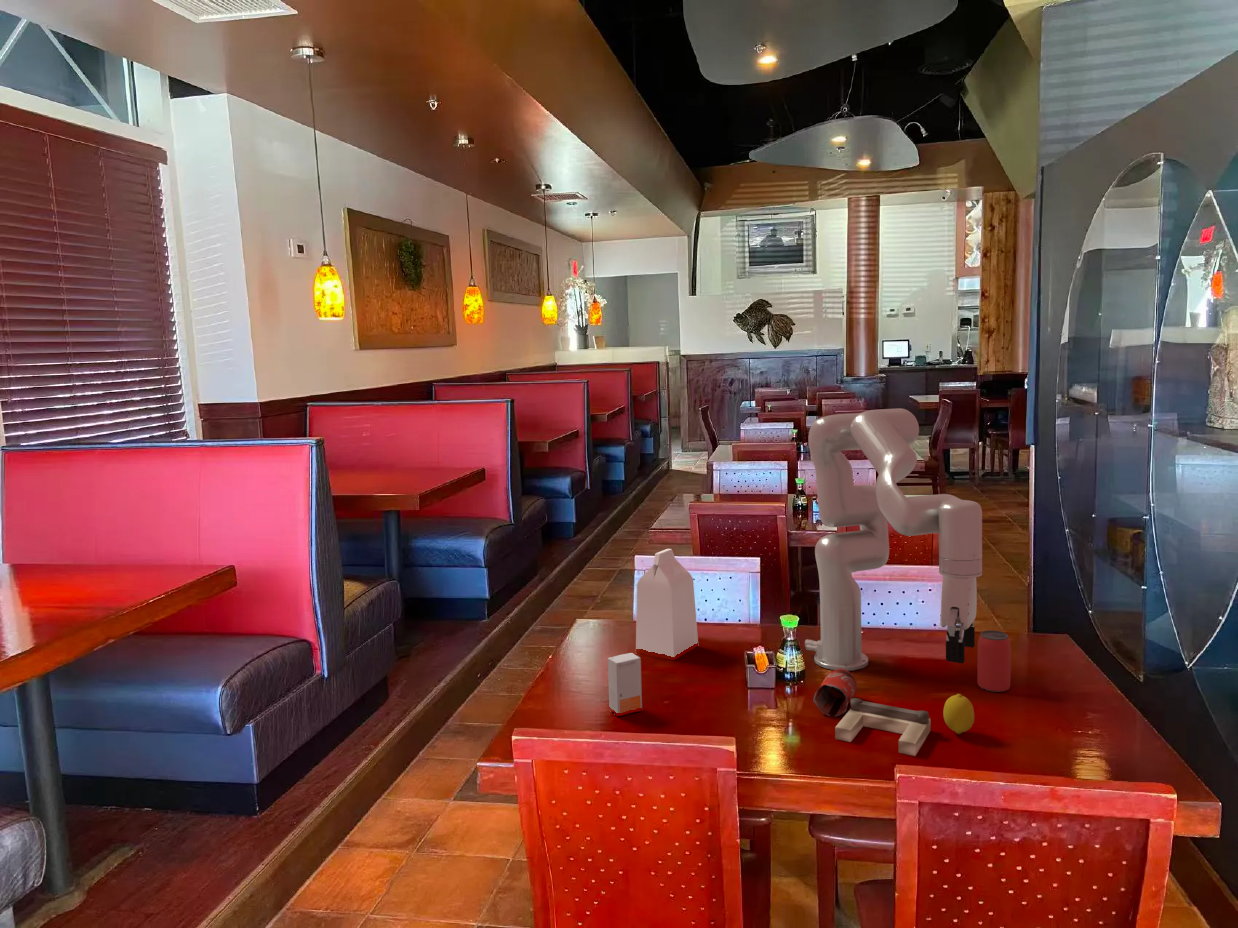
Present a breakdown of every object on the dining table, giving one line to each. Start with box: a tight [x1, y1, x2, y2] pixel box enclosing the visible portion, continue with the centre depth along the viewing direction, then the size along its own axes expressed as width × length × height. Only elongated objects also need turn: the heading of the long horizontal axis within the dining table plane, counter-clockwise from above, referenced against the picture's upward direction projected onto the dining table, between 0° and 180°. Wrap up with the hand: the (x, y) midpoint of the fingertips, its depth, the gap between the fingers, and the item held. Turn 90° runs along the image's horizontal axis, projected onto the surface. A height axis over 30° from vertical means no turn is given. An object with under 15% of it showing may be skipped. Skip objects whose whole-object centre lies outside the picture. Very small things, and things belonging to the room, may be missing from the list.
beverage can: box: [812, 669, 857, 717], centre depth 176 cm, size 7×12×7 cm, turn 153°
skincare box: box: [607, 652, 643, 713], centre depth 177 cm, size 6×4×12 cm
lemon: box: [942, 693, 975, 735], centre depth 161 cm, size 6×6×8 cm
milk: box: [635, 548, 699, 657], centre depth 213 cm, size 12×12×26 cm
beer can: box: [976, 629, 1012, 693], centre depth 182 cm, size 7×7×12 cm
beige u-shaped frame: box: [834, 697, 932, 757], centre depth 162 cm, size 15×12×4 cm
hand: (960, 653), depth 159 cm, fingers open, 9 cm apart
